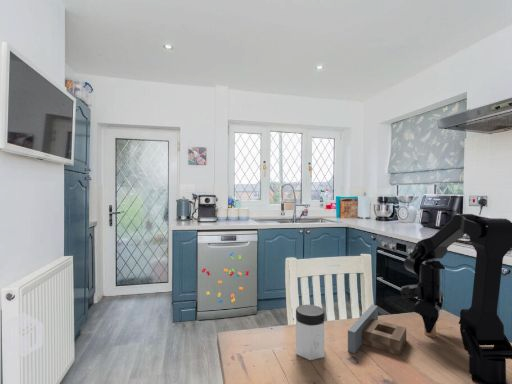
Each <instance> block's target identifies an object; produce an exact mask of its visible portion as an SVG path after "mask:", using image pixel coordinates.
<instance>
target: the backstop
mask: <svg viewBox="0 0 512 384" xmlns="http://www.w3.org/2000/svg"><path fill="white" fill-rule="evenodd" d="M372 319H375V320H379V307H378V305H375V304H371V305H370V306H369V307H368V308H367V309H366V310H365V311H364V312H363V313H362V314H361V316H359V318H358V319H357V320H356V321H355V322H354V323H353V324H352V325H351V326H350V327H349V328H348V329H347V352H349V353H353V354H356V353H357V351H359V349H360V348H361V347H362V345H363V330H364V329H365V327H366V326H367V325H368V324H369V323H370V321H371V320H372Z"/></svg>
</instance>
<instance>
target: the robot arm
mask: <svg viewBox="0 0 512 384" xmlns="http://www.w3.org/2000/svg"><path fill="white" fill-rule="evenodd" d="M465 235H468V236H469V241H470V243H471V245H472V246H473V248H474V250H475V252H476V256H475V258H476V259H475V264H474V265H475V266H474V267H475V268H474V278H473V287H472V296H471V305H470V307H469V308H463V309H461V310H460V311H459V316H460V317H459V321H458V324H459V330H460V331H459V332H460V336H461V340H462V344H463V348H464V350H465V351H466V352H467V355H468V361H469V362H468V366H469V367H468V368H469V369H468V370H469V371H468V372H469V374H470V375H471V381H472V382H475V383H477V384H507V360H512V344H511V342H510V341H509V339H508V338H507V336H506V334H505V325H504V323H503V321H502V320H501V318H500V316H499V314H498V306H499V297H500V287H501V280H502V270H503V262H504V257H505V256H506V254H508V253H509V252H510V250H511V249H512V221H510V220H509V219H507V218H491V217H487V216H485V217H484V216H480V215H476V214H473V213H456V214H454V215H453V216H452V218H451V220H450V221H448V222H447V223H446V224H445V225H444V226H443V227H442V228H440V230H438V231H437V232H435V234H433V235H432V236H430V237H425V238H423V239H421V240H419V241H417V243H416V244H415V246H414V248H413V250H412V252H409V253H408V256H406V257H405V259H404V261H403V267H404V268H405V269H406V270H407V271H408V272H411V273H413V274H415V275H417V276H419V281H418V282H417V284H407V285H404V286H403V285H402V286H401V287H400V289H399V292H400V293H399V294H400V296H401V297H402V299H403V300H407V299H411V298H417V300H418V301H416V303H415V304H414V313H416V314H418V315H419V316H421V318H422V321H423V324H424V325H425V329H426V332H427V333H431V331H432V329H433V327H434V325H435V323H436V324H437V321H438V319H439V318H440V314H441V313H440V312H441V310H442V307H443V305H444V300H445V297H444V296H445V295H444V293H443V292H442V291H441V288H442V283H441V270H445V269H446V267H445V266H444V264H442V263H441V261H440V260H441V259H443V258H444V257H445V256H446V255H447V253H448V248H449V247H450V246H451V245H453V244H454V243H455V242H457V241H458V240H459V239H461V238H462V237H463V236H465ZM424 325H423V326H424Z"/></svg>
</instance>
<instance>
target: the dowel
mask: <svg viewBox="0 0 512 384" xmlns="http://www.w3.org/2000/svg"><path fill="white" fill-rule="evenodd" d="M423 328H424V330H423V331H424V335H425V336H427V337H430V338H435V337H437V322H436V323H435V325H434V327H433V329H432V331H431V333H427V332H426V329H425V325H423Z"/></svg>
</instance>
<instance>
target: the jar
mask: <svg viewBox="0 0 512 384" xmlns="http://www.w3.org/2000/svg"><path fill="white" fill-rule="evenodd" d="M325 316H326V315H325V310H324V308H322V307H321V306H317V305H315V304H314V305H313V304H301V305H299V306H297V307H296V308H295V355H297V356H299V357H302V358H305V360H308V361H314V360H317V359H322V358H325Z"/></svg>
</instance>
